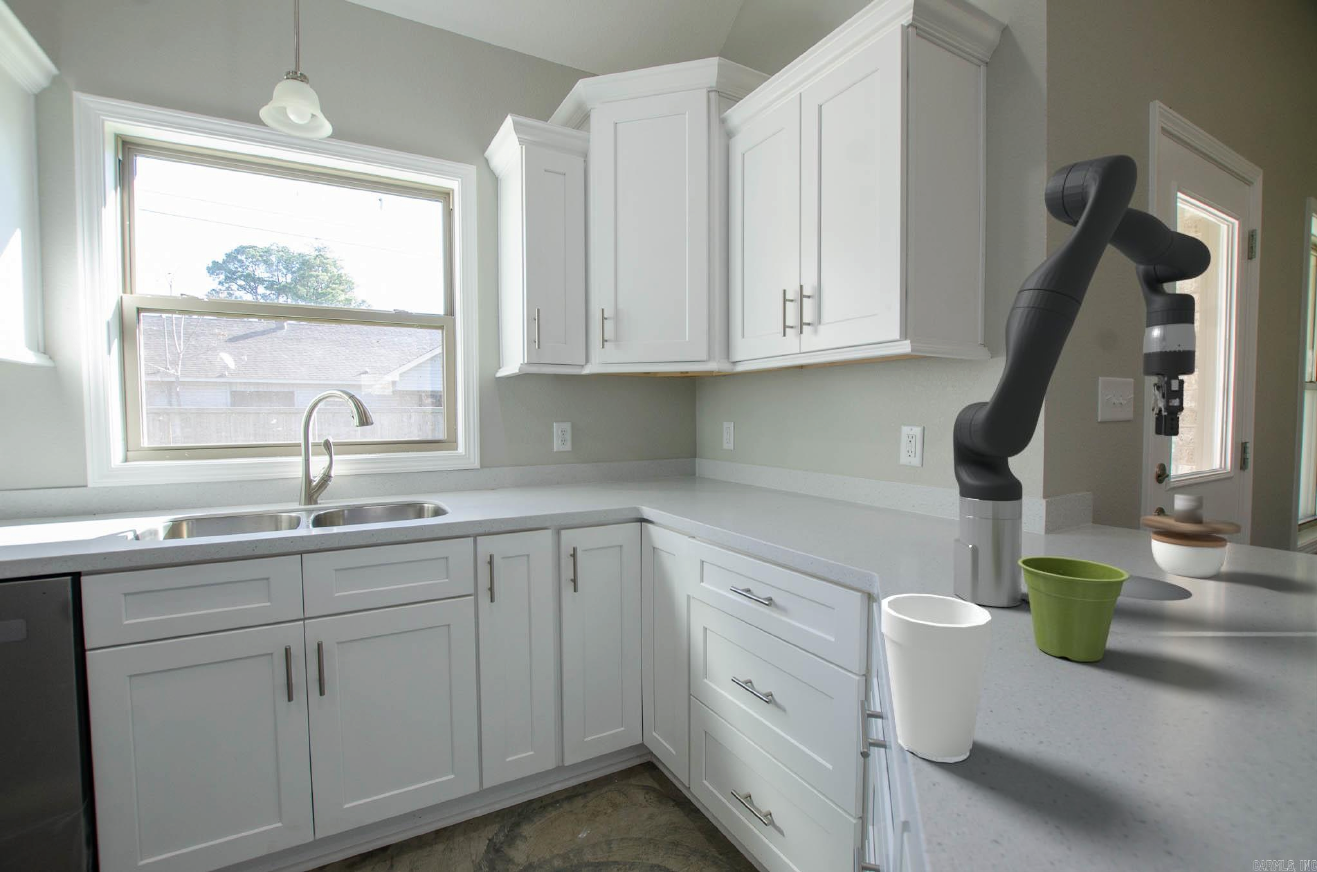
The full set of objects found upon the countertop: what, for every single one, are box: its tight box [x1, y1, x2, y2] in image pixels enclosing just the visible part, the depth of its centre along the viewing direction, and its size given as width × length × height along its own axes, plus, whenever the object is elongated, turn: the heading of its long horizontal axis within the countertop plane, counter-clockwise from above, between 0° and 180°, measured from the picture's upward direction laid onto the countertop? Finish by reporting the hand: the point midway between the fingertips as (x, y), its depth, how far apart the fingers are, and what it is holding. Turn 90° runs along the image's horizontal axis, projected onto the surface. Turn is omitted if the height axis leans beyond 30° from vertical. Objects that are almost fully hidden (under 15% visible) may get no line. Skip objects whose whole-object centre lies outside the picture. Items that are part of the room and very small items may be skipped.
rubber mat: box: [1119, 574, 1193, 602], centre depth 103 cm, size 17×17×1 cm
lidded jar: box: [1150, 529, 1228, 579], centre depth 111 cm, size 11×11×9 cm
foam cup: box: [880, 593, 993, 757], centre depth 55 cm, size 10×9×13 cm
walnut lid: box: [1139, 493, 1242, 536], centre depth 110 cm, size 14×14×6 cm
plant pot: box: [1018, 556, 1130, 663], centre depth 76 cm, size 12×12×11 cm
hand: (1166, 435), depth 112 cm, fingers open, 8 cm apart
